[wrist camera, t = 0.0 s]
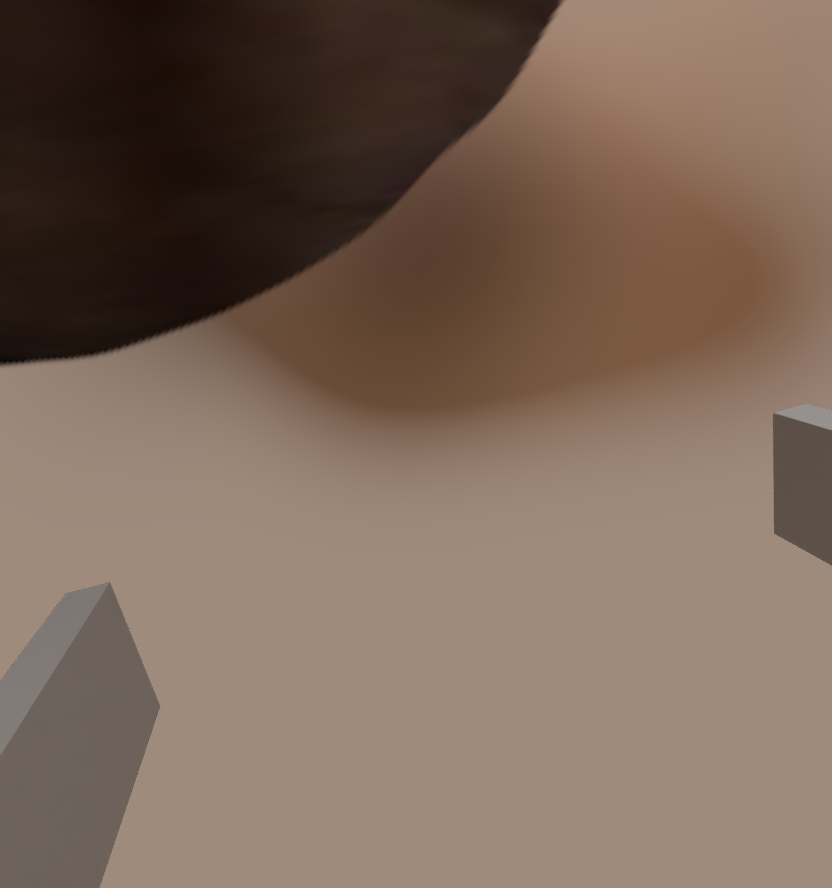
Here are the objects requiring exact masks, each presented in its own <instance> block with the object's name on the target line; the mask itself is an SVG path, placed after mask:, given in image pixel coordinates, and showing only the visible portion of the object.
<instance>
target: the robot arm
mask: <svg viewBox="0 0 832 888" xmlns="http://www.w3.org/2000/svg"><path fill="white" fill-rule="evenodd" d="M773 447H774V448H773V453H774V455H773V456H774V534H776V535H778V536H780V537H782V538H783V539H785V540H787V541H789V542H791V543H792V544H794V545H796V546H798V547H799V548H801V549H803V550H805V551H807V552H809V553H810V554H812V555H814V556H816V557H817V558H820V559H821V560H823V561H825V562H826V563H828V564H830V565H832V411H831V410H827V409H824V408H819V407H816V406H812V405H808V404H805V405H802V406H798V407H794V408H790V409H786V410H782V411H778V412H774V413H773ZM159 708H160V705H159V702H158V700H157V697H156V695H155V692H154V690H153V687H152V685H151V682H150V680H149V678H148V675H147V673H146V670H145V668H144V665H143V663H142V660H141V658H140V655H139V653H138V650H137V648H136V645H135V643H134V641H133V638H132V636H131V633H130V631H129V628H128V626H127V623H126V621H125V618H124V616H123V613H122V611H121V609H120V606H119V604H118V601H117V599H116V596H115V594H114V591H113V589H112V587H111V584H110V582H109V583H105V584H102V585H98V586H94V587H90V588H86V589H82V590H78V591H74V592H71V593H67V594H65V595H64V596H63V598H62V599H61V601H60V602H59V603H58V604H57V606H56V607H55V608H54V610H53V611H52V612H51V614H50V615H49V616H48V618H47V619H46V620H45V622H44V623H43V624H42V626H41V627H40V628H39V630H38V631H37V632H36V634H35V635H34V636H33V638H32V639H31V640H30V642H29V643H28V644H27V646H26V647H25V648H24V650H23V651H22V652H21V654H20V655H19V656H18V658H17V659H16V660H15V662H14V663H13V664H12V666H11V667H10V668H9V670H8V671H7V672H6V674H5V675H4V677H3V678H2V679H1V681H0V888H99V887H100V884H101V881H102V878H103V875H104V872H105V869H106V866H107V863H108V860H109V857H110V854H111V851H112V848H113V845H114V842H115V839H116V836H117V833H118V830H119V827H120V824H121V821H122V818H123V815H124V812H125V810H126V806H127V804H128V800H129V798H130V795H131V792H132V788H133V785H134V782H135V780H136V777H137V774H138V771H139V768H140V765H141V762H142V759H143V756H144V753H145V750H146V747H147V744H148V741H149V738H150V735H151V732H152V729H153V726H154V723H155V720H156V717H157V714H158V711H159Z"/></svg>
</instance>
